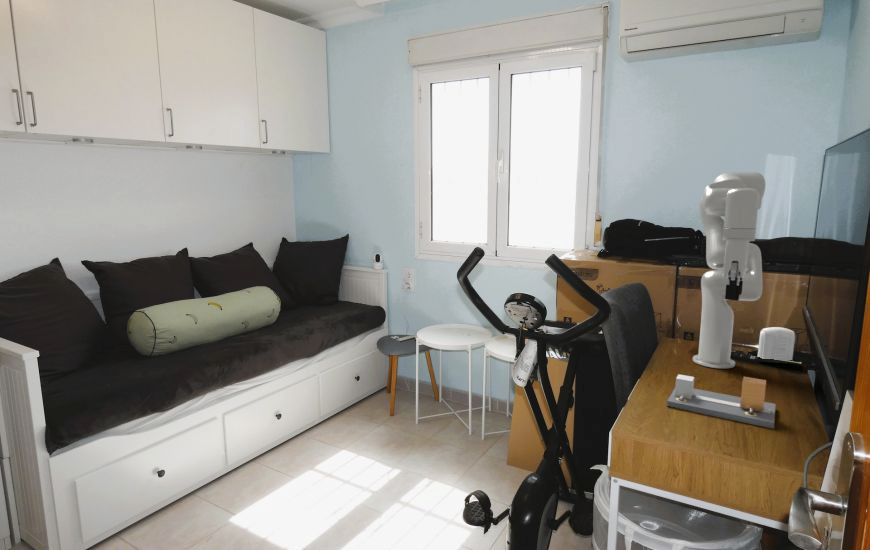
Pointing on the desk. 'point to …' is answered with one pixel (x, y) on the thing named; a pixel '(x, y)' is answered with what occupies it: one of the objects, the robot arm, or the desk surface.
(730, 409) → the slide rail plate
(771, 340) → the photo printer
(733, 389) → the desk surface
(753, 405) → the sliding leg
